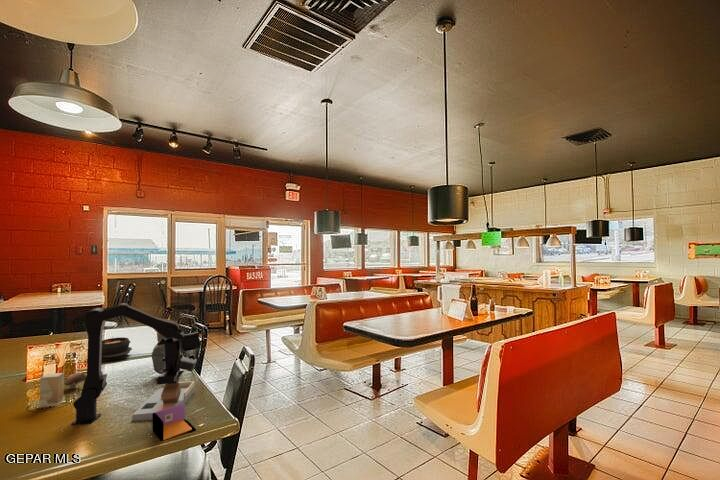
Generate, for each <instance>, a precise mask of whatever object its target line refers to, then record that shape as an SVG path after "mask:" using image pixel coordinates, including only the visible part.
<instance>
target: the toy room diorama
mask: <svg viewBox="0 0 720 480" xmlns="http://www.w3.org/2000/svg"><path fill="white" fill-rule="evenodd" d="M169 415H170V418H166V416H169ZM151 420H152V428H151V429H152V432H153V433H154V434H155V436H156V438H158V439H159V441H160V442H164V441H168V440H170V439H174V438H177V437H179V436H182V435H186V434H192V433H194V432H196V431H197V429H196V428H195V426H194V425H192V424H191V423H190V422H189V421H188V420H187V419H186V403H185V404H184V403H183V404H179V405H176V406H173V407H170V408H166V409H163V410H160V411H157V412H154V413H153V419H151Z"/></svg>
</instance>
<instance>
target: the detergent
mask: <svg viewBox="0 0 720 480" xmlns="http://www.w3.org/2000/svg"><path fill="white" fill-rule="evenodd" d="M156 332H157V331H156ZM162 337H163V338H165V339H167V338H166V337H164V336H163V335H161V334H160V333H158V332H157V333H156V339H157V343H156V345H154V347H153V350H152V352H151V360H152V365H153V370H154V371H155V372H156V373H157V374H159V375H161V374H162V373H167V371H166V372H163V369H164V368H165V362H164V361H162V359H163V358H164V346H163V345H158V341H160V340H161V338H162ZM172 338H173V337H172ZM173 339H174V338H173ZM180 353H182V351H181V349H180Z"/></svg>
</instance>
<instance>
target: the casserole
mask: <svg viewBox="0 0 720 480" xmlns="http://www.w3.org/2000/svg"><path fill="white" fill-rule="evenodd" d="M130 344H131V340H130V339H129V337H111V338H106V339H102V356H101V358H106V359H107V358H108V359H109V358H116V357H120V356H125V355H128V354H129V353H130V352H131V351H132V350H133V347H131V346H130Z"/></svg>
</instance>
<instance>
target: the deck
mask: <svg viewBox="0 0 720 480" xmlns="http://www.w3.org/2000/svg"><path fill="white" fill-rule="evenodd" d="M178 383H179V384H180V389H181V393H180V396H179V399H178V402H175V404H174V405H173V406H176V405H179V404H183V403H184V404H185V405H186V403H187V402H188V400H189V399H190V397H192V395H193V394H194V393H195V391H196V390H195V387H196V386H195V381H193V380H192V381H181V382H180V381H178ZM163 389H164V387H159V388H157V390H156V391H155V392H154V393H153V394H152V395H151V396H150V397H149V398H148V399H146V401H144V403H143V404H142V405H141V406H139V408H137V409H136V410H135V412H134V413H132V415H131V419H132V420H131V421H146V420H152V419H153V413H154V412H157V411H160V410H156V409H157V408H158V407H159V406H160V405H161V404H163V400H162V396H161V394H162V392H163ZM165 404H172V403H165ZM173 406H172V407H173ZM166 419H170V415H169V416H166Z"/></svg>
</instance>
